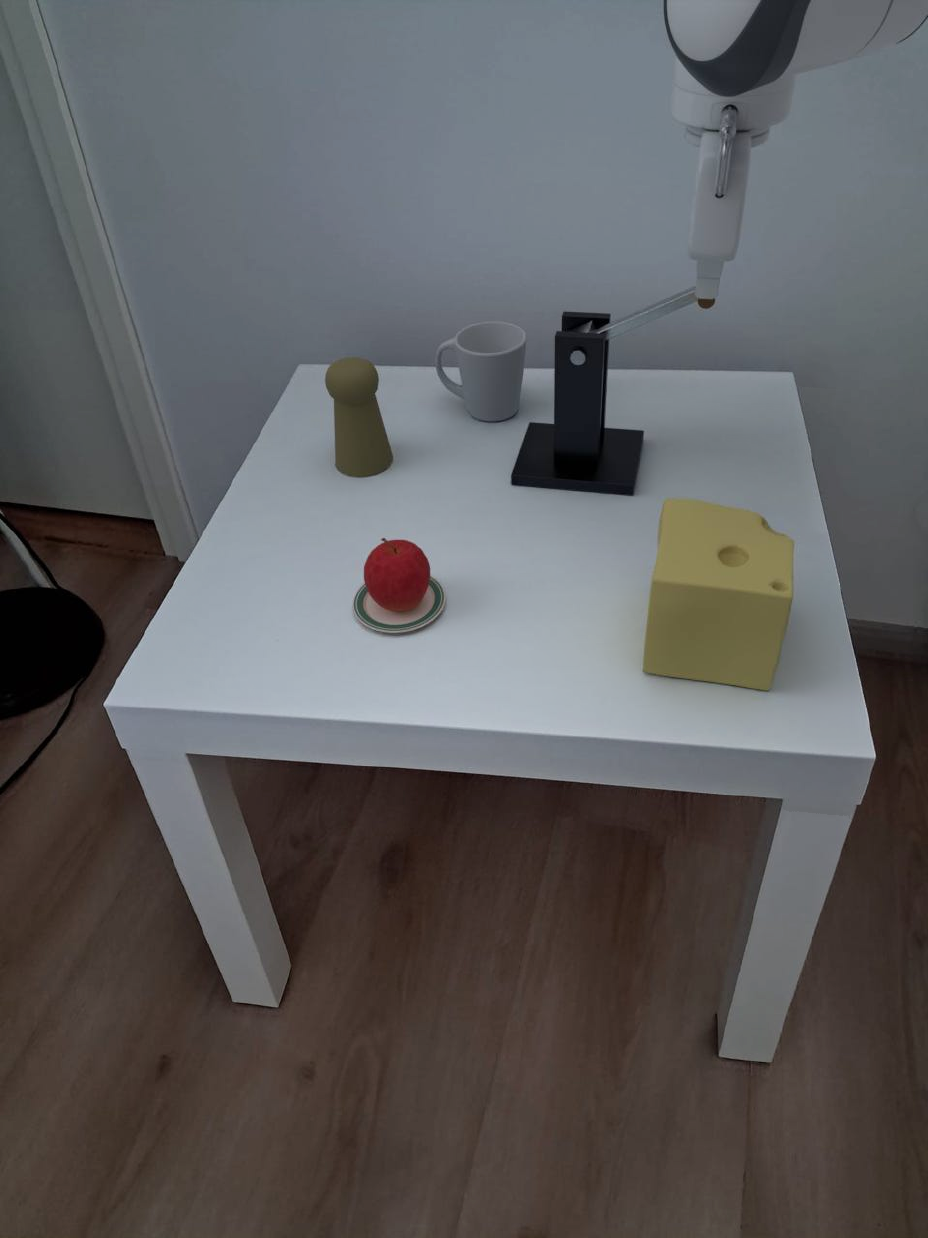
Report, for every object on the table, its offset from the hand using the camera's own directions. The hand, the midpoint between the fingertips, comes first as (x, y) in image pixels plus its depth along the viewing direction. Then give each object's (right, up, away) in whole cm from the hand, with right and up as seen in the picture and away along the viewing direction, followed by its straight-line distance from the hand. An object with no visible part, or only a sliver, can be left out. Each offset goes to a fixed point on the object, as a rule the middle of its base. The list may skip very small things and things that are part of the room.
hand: (708, 271), depth 79 cm
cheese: (-1, -31, -4) cm, 32 cm away
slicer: (-9, -13, +16) cm, 23 cm away
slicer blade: (-5, -3, +5) cm, 7 cm away
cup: (-19, -6, +25) cm, 32 cm away
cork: (-31, -13, +18) cm, 38 cm away
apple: (-26, -28, +2) cm, 39 cm away
